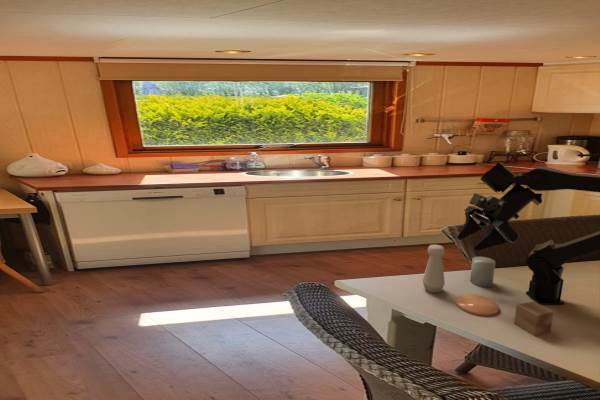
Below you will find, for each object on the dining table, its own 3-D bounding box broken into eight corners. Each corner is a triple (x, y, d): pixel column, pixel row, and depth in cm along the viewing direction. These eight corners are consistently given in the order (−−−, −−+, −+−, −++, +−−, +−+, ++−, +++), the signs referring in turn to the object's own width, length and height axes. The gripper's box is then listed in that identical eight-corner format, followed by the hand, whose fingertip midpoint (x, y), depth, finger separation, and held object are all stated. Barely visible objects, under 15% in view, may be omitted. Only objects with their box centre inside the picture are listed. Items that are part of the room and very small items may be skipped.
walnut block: (529, 320, 86) (532, 301, 85) (550, 332, 81) (553, 311, 80) (514, 324, 84) (516, 304, 83) (533, 336, 79) (537, 315, 78)
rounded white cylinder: (486, 278, 109) (488, 256, 107) (496, 287, 103) (499, 264, 102) (466, 278, 109) (468, 256, 107) (475, 287, 103) (478, 264, 102)
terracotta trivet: (486, 296, 97) (486, 294, 97) (506, 316, 87) (507, 313, 87) (449, 296, 97) (449, 293, 97) (465, 315, 87) (465, 312, 87)
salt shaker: (445, 295, 98) (449, 250, 95) (423, 293, 99) (426, 248, 96) (441, 286, 103) (445, 243, 101) (420, 284, 105) (424, 241, 102)
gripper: (474, 178, 104) (433, 215, 106) (513, 189, 86) (463, 234, 88) (497, 204, 106) (457, 240, 108) (540, 221, 88) (491, 264, 90)
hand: (465, 243), depth 99 cm, fingers open, 9 cm apart
